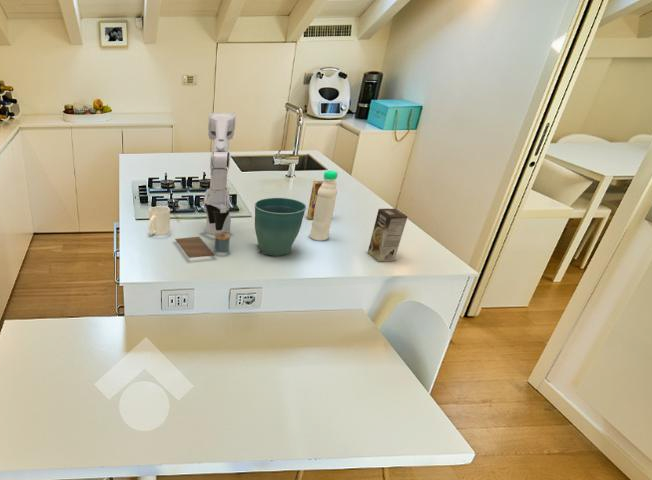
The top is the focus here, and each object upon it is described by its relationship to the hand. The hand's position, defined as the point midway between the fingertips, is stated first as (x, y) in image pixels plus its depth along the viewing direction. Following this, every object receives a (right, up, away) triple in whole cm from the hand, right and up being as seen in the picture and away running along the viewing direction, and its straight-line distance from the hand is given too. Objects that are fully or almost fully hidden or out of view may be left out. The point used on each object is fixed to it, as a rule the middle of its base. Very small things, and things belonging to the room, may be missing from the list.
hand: (215, 226), depth 186 cm
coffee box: (+60, -12, -1) cm, 61 cm away
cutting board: (-7, -7, +6) cm, 12 cm away
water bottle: (+43, 0, +15) cm, 46 cm away
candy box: (+50, +14, +34) cm, 62 cm away
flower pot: (+23, -8, +5) cm, 25 cm away
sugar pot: (+3, -9, +4) cm, 10 cm away
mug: (-21, +2, +20) cm, 29 cm away
